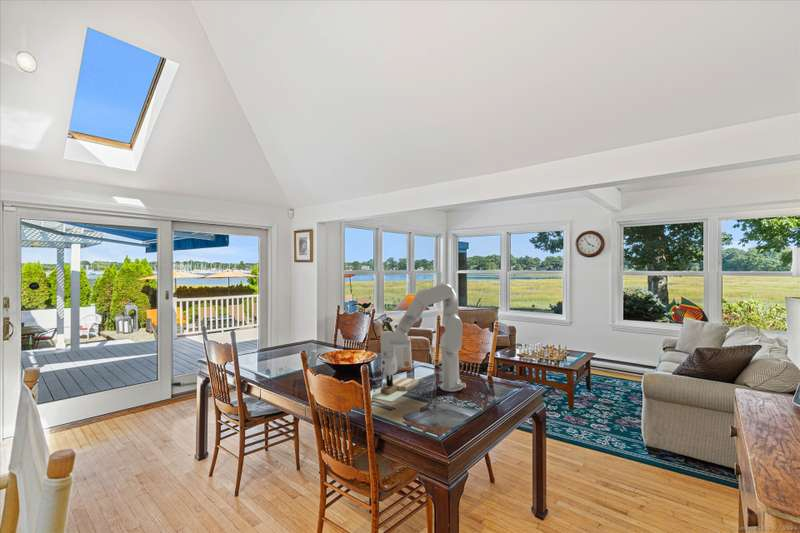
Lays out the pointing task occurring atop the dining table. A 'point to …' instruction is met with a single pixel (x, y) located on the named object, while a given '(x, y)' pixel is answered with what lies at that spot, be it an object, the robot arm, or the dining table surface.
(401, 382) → the deck
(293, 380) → the dining table surface
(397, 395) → the mat
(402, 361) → the cracker box
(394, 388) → the tile
